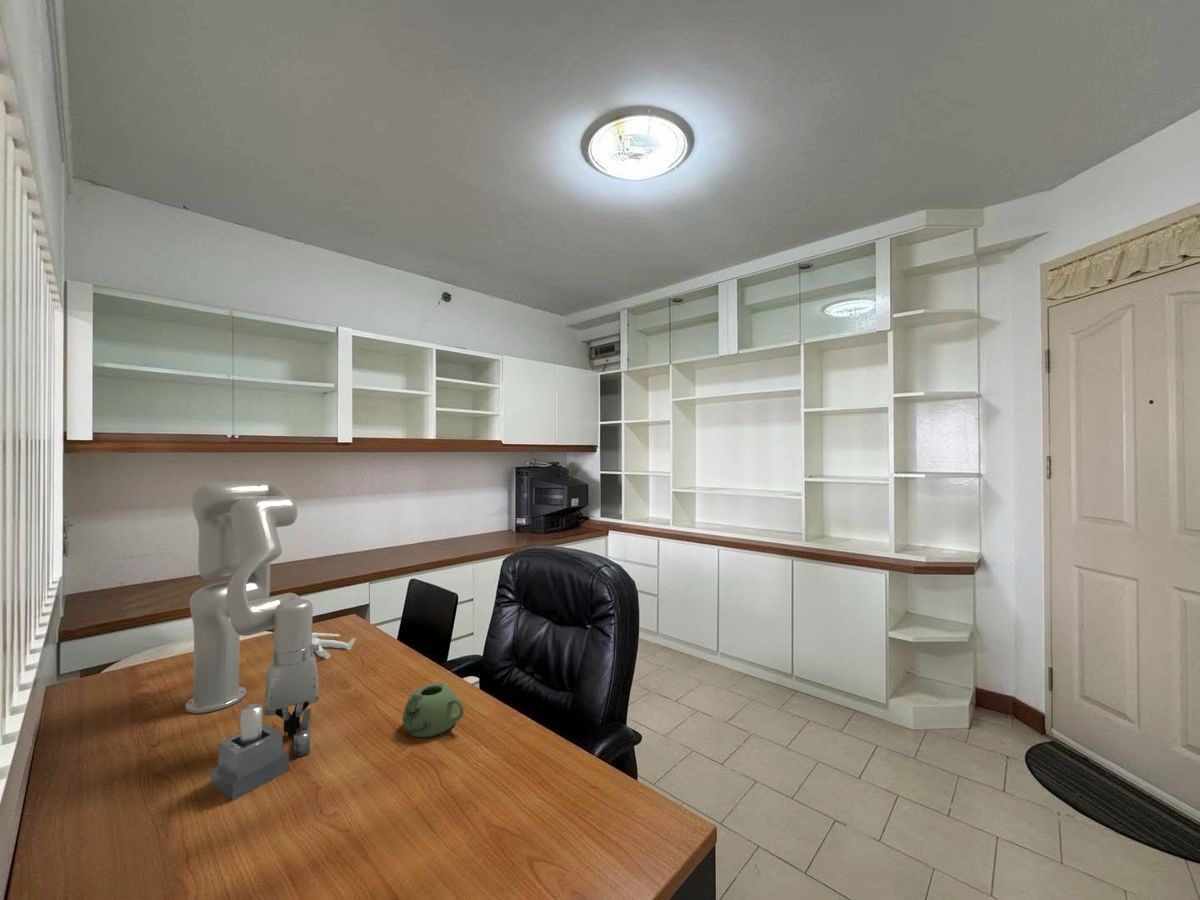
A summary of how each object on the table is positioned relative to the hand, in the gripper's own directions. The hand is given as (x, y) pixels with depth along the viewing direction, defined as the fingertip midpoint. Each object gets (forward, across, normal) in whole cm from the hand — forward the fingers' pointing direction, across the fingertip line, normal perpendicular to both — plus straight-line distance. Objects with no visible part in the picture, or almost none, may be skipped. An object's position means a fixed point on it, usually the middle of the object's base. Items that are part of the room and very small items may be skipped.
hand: (291, 733), depth 109 cm
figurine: (+2, -13, -57) cm, 59 cm away
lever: (+1, -2, +2) cm, 3 cm away
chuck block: (+1, +8, +11) cm, 14 cm away
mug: (+1, -28, +18) cm, 33 cm away
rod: (-2, +8, +11) cm, 14 cm away
